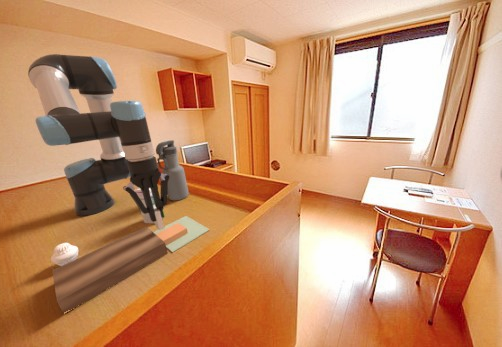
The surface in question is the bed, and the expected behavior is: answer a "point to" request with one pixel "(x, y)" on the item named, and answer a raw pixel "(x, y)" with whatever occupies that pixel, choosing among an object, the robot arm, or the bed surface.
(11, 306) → the bed surface
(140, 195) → the syrup box
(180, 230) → the orange rectangular block
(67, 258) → the white steamed bun
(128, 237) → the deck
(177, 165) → the water bottle
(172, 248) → the mat
